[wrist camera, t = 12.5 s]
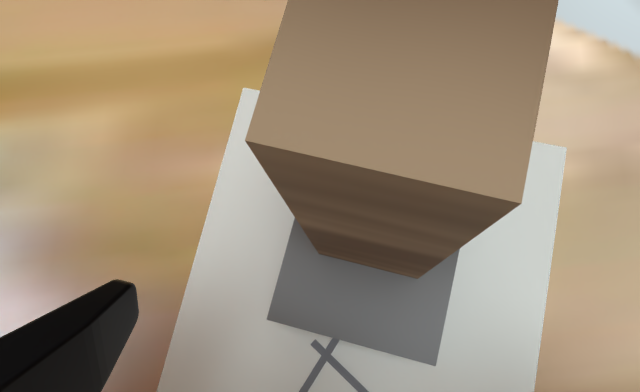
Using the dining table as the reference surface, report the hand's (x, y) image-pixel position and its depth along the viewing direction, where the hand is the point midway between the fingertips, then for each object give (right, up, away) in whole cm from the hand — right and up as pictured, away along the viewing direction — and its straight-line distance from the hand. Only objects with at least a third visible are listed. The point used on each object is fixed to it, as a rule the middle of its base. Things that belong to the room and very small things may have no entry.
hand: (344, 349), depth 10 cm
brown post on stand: (+2, +2, +8) cm, 8 cm away
